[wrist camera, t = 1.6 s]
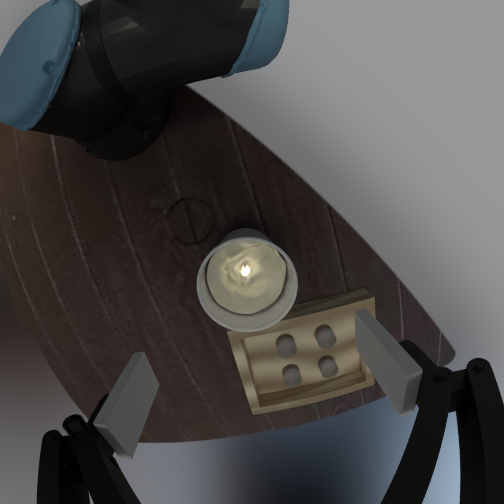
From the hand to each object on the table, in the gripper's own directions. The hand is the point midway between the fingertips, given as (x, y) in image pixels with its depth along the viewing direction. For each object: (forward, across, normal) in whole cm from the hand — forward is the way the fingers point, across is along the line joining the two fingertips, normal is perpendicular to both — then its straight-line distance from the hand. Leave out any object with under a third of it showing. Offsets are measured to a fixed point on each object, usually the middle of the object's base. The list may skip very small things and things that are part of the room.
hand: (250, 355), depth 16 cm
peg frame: (+23, +6, -17) cm, 29 cm away
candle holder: (+23, 0, 0) cm, 23 cm away
